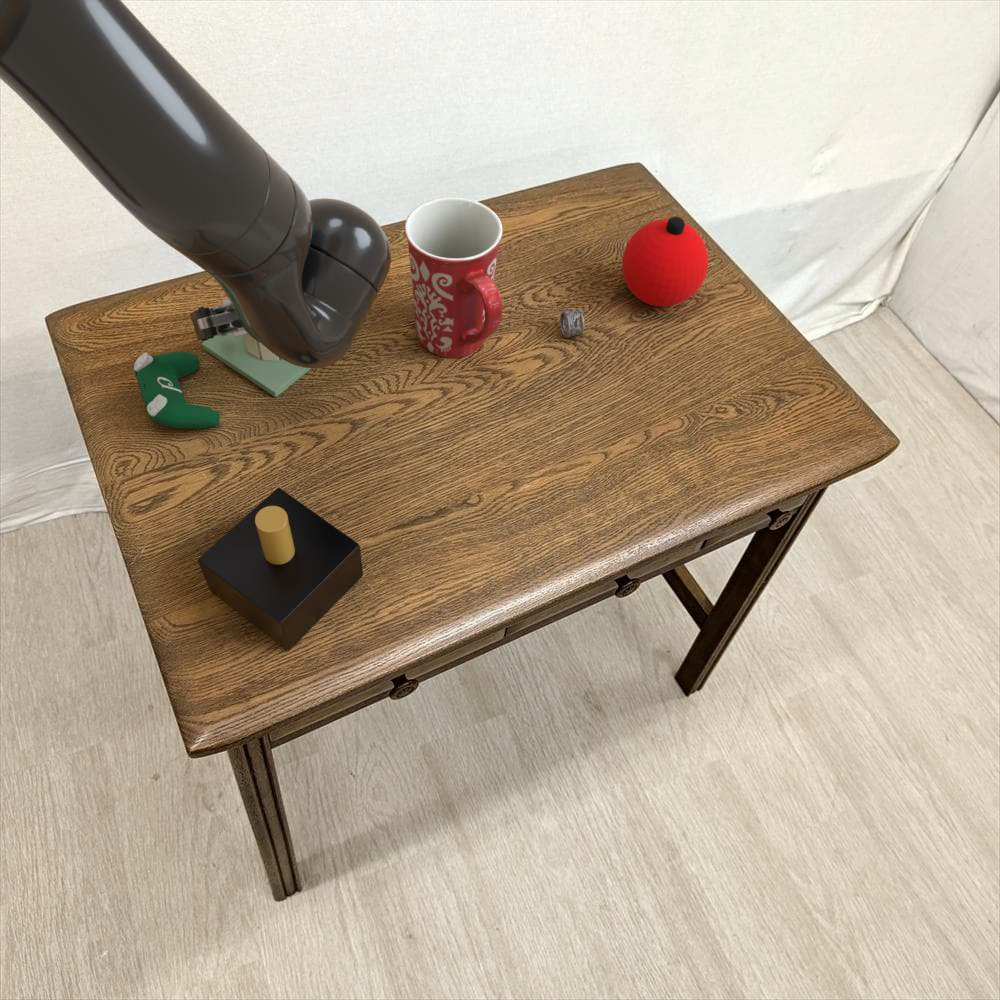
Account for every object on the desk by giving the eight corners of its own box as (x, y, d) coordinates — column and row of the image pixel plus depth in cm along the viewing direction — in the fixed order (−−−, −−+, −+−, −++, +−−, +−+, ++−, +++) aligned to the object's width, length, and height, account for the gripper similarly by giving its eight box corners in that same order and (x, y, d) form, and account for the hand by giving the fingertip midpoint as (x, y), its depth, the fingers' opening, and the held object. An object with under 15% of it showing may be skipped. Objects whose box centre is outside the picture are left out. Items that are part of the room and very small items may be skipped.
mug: (392, 316, 94) (388, 209, 83) (469, 293, 97) (476, 186, 86) (444, 400, 88) (447, 297, 77) (525, 373, 91) (539, 269, 80)
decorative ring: (582, 341, 94) (587, 320, 92) (565, 343, 94) (569, 322, 91) (574, 322, 95) (579, 301, 93) (558, 324, 95) (561, 303, 93)
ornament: (710, 314, 98) (737, 240, 89) (637, 332, 95) (658, 258, 87) (672, 260, 102) (694, 185, 94) (601, 276, 100) (617, 201, 92)
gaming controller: (179, 378, 89) (123, 361, 85) (200, 352, 88) (145, 333, 83) (203, 447, 85) (146, 432, 80) (226, 420, 83) (169, 404, 79)
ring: (276, 370, 88) (269, 337, 84) (230, 340, 89) (222, 307, 86) (318, 336, 91) (314, 303, 87) (273, 308, 92) (267, 274, 89)
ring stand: (288, 651, 72) (272, 593, 64) (209, 589, 75) (183, 526, 67) (363, 575, 76) (356, 511, 68) (285, 519, 79) (270, 451, 71)
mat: (275, 398, 87) (274, 392, 86) (202, 348, 90) (200, 343, 89) (345, 340, 92) (345, 335, 91) (274, 296, 94) (273, 290, 94)
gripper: (357, 234, 74) (324, 256, 89) (183, 274, 70) (179, 290, 85) (382, 324, 76) (345, 331, 91) (213, 368, 72) (204, 367, 87)
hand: (265, 311), depth 88 cm, fingers open, 8 cm apart
